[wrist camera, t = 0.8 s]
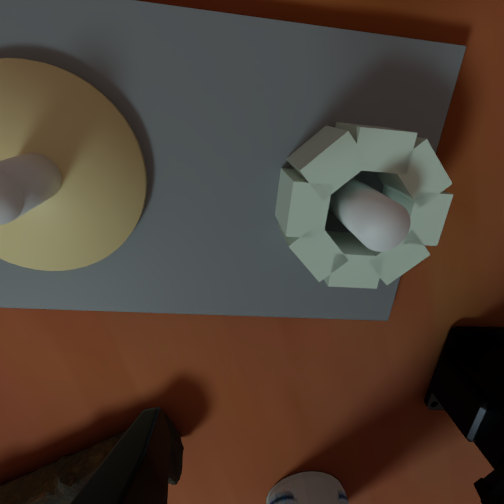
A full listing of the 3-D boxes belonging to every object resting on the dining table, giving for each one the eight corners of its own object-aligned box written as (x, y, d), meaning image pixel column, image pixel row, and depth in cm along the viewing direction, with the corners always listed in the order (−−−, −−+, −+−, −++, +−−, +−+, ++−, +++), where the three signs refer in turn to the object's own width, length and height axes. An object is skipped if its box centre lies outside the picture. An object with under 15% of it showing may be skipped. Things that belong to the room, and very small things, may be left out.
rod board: (452, 48, 17) (569, 24, 11) (380, 311, 22) (436, 382, 16) (-94, -26, 14) (-298, -107, 8) (-24, 296, 19) (-120, 376, 14)
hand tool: (161, 396, 23) (149, 463, 19) (188, 436, 25) (183, 505, 21) (-92, 493, 25) (-157, 576, 20) (-51, 525, 26) (-102, 608, 22)
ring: (429, 131, 17) (471, 138, 14) (393, 263, 20) (422, 290, 17) (287, 116, 16) (302, 121, 13) (269, 256, 19) (278, 284, 16)
